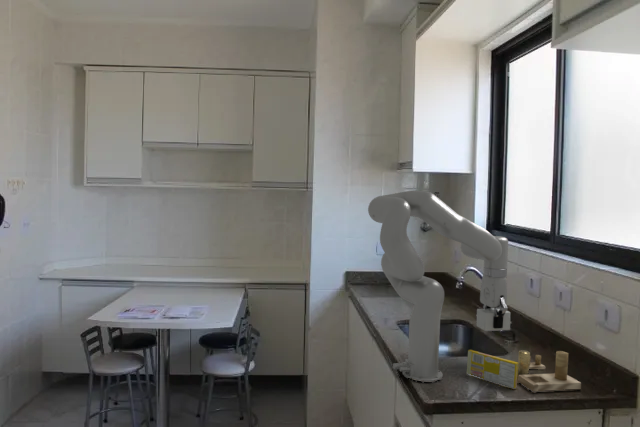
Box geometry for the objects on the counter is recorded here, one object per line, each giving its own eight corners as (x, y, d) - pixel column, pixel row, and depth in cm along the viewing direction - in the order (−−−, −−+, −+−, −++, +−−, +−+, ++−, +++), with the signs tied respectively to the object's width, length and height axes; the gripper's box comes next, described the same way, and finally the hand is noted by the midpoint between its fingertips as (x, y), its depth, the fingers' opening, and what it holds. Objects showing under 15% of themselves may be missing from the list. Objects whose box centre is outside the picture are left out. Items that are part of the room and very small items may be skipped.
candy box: (517, 389, 155) (519, 362, 154) (514, 390, 153) (515, 363, 153) (469, 373, 166) (470, 348, 166) (466, 375, 165) (467, 350, 164)
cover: (485, 331, 169) (485, 313, 169) (476, 326, 175) (477, 308, 175) (509, 329, 171) (510, 312, 171) (500, 324, 177) (501, 307, 176)
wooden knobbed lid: (526, 370, 171) (527, 358, 171) (519, 365, 175) (520, 354, 174) (545, 369, 172) (546, 357, 172) (538, 365, 176) (538, 353, 176)
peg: (521, 378, 163) (522, 353, 163) (515, 374, 166) (516, 350, 166) (530, 378, 164) (532, 353, 163) (524, 374, 167) (526, 350, 167)
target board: (533, 393, 151) (534, 358, 151) (517, 382, 159) (519, 349, 159) (580, 390, 154) (582, 356, 154) (563, 380, 162) (565, 348, 162)
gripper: (472, 268, 180) (470, 318, 181) (498, 277, 163) (495, 333, 164) (492, 268, 181) (489, 318, 182) (519, 277, 164) (517, 332, 165)
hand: (492, 324), depth 173 cm, fingers closed on cover, 6 cm apart
